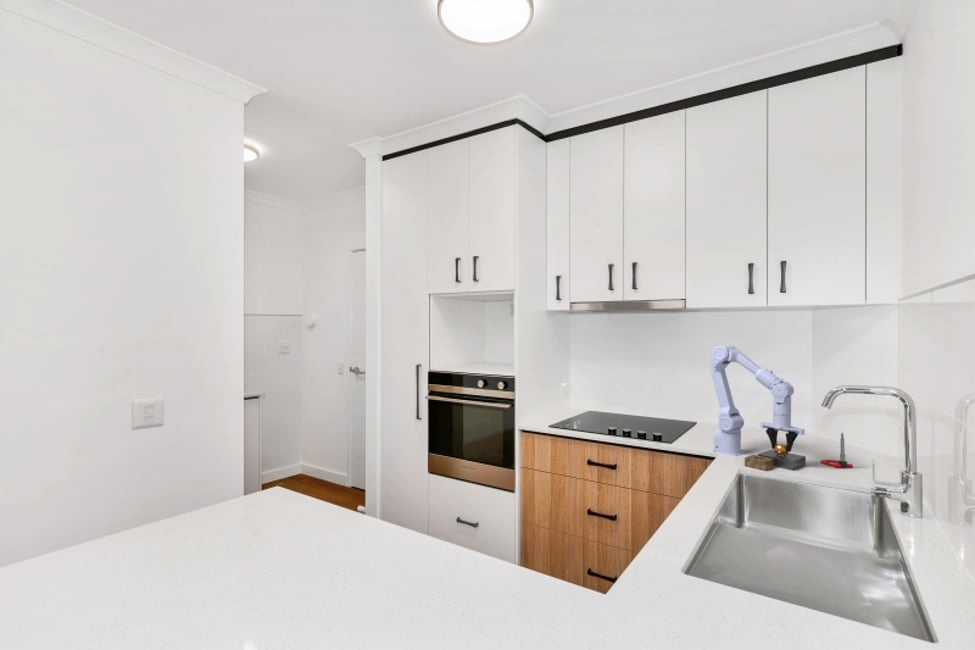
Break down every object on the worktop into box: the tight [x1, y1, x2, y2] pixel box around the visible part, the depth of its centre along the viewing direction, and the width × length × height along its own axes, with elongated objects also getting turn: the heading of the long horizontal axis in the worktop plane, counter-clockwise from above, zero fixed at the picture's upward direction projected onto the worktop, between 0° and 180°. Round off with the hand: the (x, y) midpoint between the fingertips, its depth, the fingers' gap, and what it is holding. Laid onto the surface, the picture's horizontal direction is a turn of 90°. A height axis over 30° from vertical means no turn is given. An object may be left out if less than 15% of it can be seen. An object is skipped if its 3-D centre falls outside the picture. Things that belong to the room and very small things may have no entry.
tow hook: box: [820, 432, 854, 469], centre depth 181 cm, size 8×13×9 cm
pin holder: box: [744, 454, 774, 472], centre depth 176 cm, size 7×7×4 cm
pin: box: [774, 443, 789, 457], centre depth 180 cm, size 4×4×6 cm
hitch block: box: [756, 448, 807, 471], centre depth 180 cm, size 12×12×4 cm
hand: (781, 450), depth 180 cm, fingers closed on pin, 4 cm apart
